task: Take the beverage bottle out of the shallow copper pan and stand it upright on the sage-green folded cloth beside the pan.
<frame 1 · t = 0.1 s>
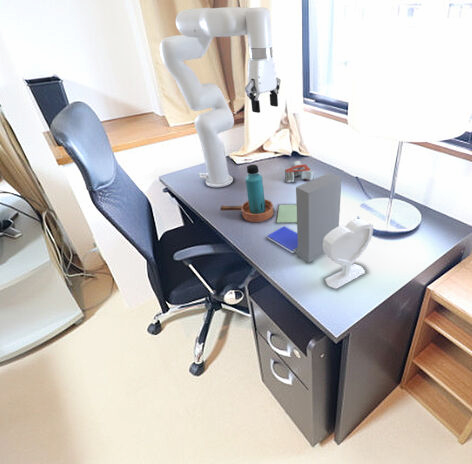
hand: (265, 109, 113), 37 cm above the table, tool pointing down, fingers open, 9 cm apart
pan handle: (231, 208, 125), point 2 cm above the table
hard drive: (288, 241, 111), on the table
tape dispenser: (300, 175, 154), on the table
tall grey upright box: (317, 250, 107), on the table
heart sculpture: (345, 276, 96), on the table
cloth: (290, 213, 126), on the table
pan: (258, 213, 126), on the table
beverage bottle: (258, 213, 126), resting on pan
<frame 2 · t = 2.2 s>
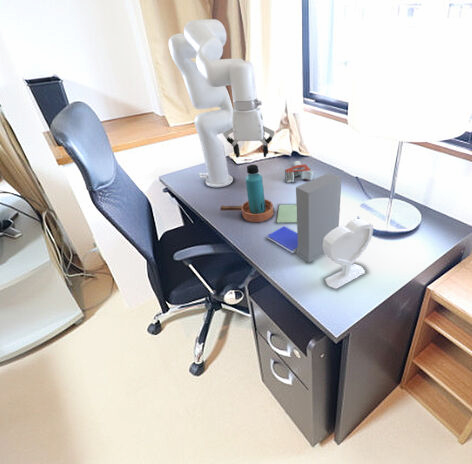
hand: (251, 156, 112), 24 cm above the table, tool pointing down, fingers open, 9 cm apart
nothing on the table moved.
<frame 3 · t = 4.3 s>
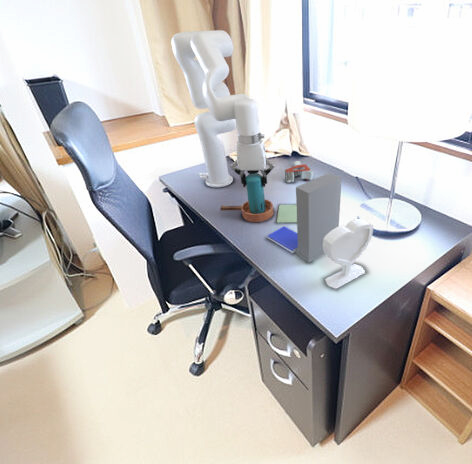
hand: (254, 185, 119), 13 cm above the table, tool pointing down, fingers closed on beverage bottle, 6 cm apart
beverage bottle: (258, 213, 126), resting on pan, touching gripper
everything else where it was.
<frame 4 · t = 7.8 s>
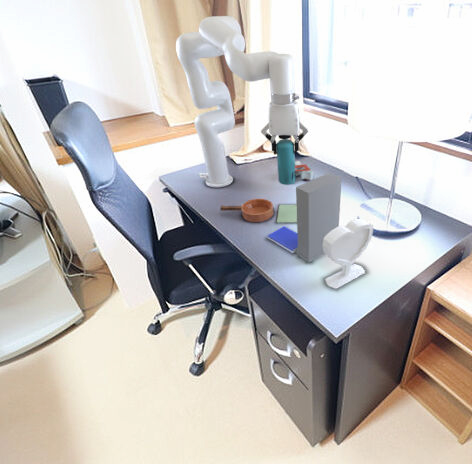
hand: (285, 152, 111), 25 cm above the table, tool pointing down, fingers closed on beverage bottle, 6 cm apart
beverage bottle: (287, 185, 119), point 13 cm above the table, touching gripper
everything else where it was.
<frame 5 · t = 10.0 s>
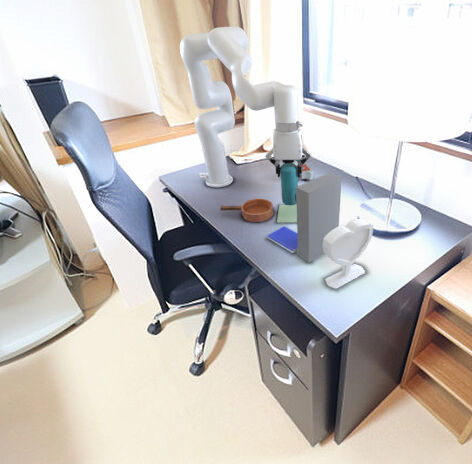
hand: (288, 175, 116), 17 cm above the table, tool pointing down, fingers closed on beverage bottle, 6 cm apart
beverage bottle: (290, 205, 124), point 4 cm above the table, touching gripper
everything else where it was.
when the fingers open (13 cm above the table, at t = 11.7 s): beverage bottle stays where it is, resting on cloth.
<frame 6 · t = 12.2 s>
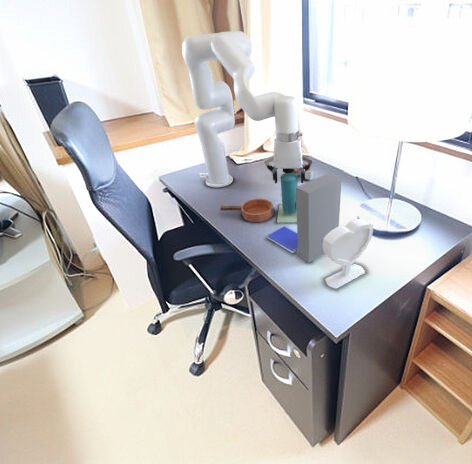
hand: (289, 181, 118), 14 cm above the table, tool pointing down, fingers open, 9 cm apart
beverage bottle: (290, 213, 126), resting on cloth
everything else where it was.
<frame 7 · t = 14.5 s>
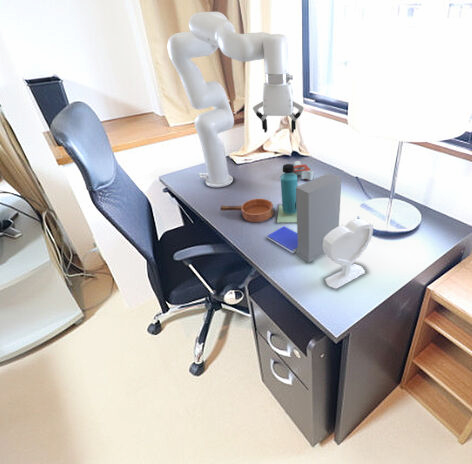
hand: (279, 131, 114), 30 cm above the table, tool pointing down, fingers open, 9 cm apart
nothing on the table moved.
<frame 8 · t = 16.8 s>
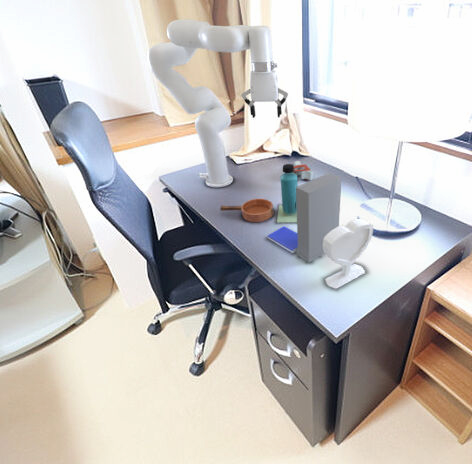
hand: (266, 116, 123), 32 cm above the table, tool pointing down, fingers open, 9 cm apart
nothing on the table moved.
at the end: beverage bottle inside the target area on the cloth (0.0 cm from its centre), point 0.1 cm above the cloth's base; beverage bottle tilted 0°; beverage bottle touching cloth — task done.
